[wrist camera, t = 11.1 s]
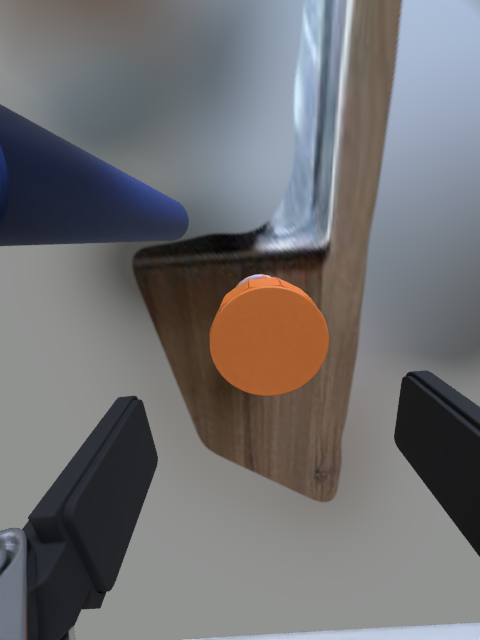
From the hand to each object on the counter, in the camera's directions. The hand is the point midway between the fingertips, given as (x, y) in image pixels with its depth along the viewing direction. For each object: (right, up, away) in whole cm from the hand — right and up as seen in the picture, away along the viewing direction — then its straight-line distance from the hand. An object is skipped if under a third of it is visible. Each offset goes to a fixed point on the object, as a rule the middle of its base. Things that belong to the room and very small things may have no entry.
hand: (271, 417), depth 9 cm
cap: (+1, +3, +10) cm, 11 cm away
